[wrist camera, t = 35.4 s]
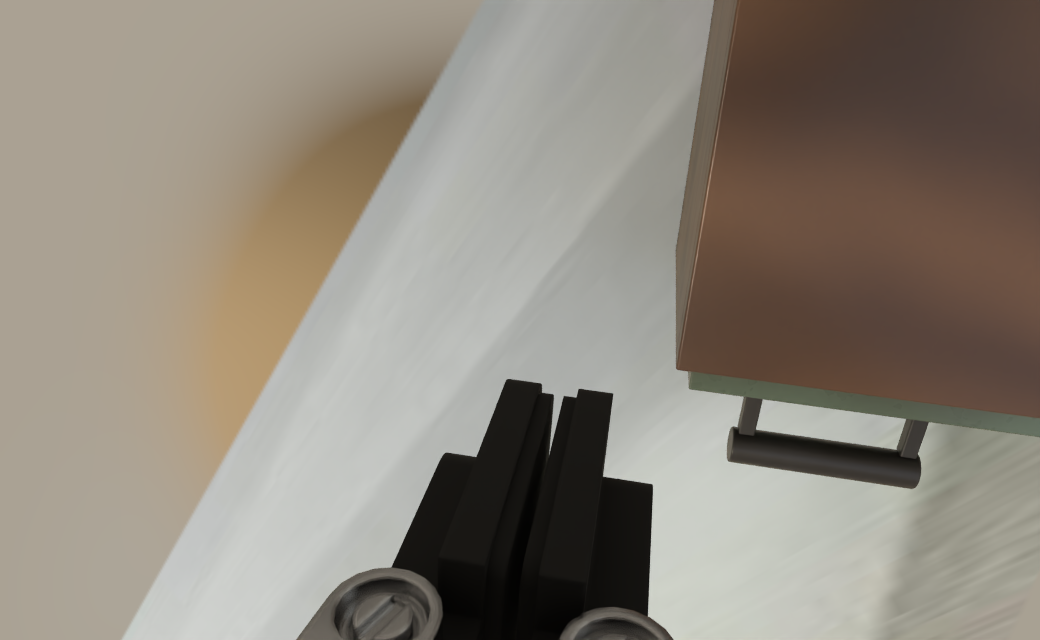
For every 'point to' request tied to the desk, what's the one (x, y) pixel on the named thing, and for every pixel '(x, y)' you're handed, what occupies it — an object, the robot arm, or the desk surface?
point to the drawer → (842, 456)
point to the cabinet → (867, 201)
